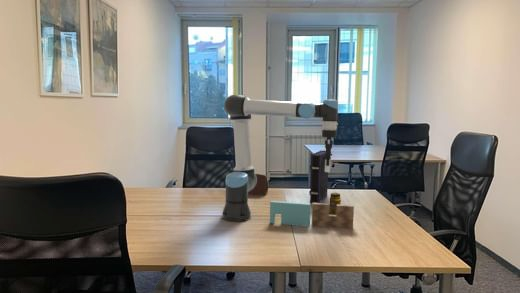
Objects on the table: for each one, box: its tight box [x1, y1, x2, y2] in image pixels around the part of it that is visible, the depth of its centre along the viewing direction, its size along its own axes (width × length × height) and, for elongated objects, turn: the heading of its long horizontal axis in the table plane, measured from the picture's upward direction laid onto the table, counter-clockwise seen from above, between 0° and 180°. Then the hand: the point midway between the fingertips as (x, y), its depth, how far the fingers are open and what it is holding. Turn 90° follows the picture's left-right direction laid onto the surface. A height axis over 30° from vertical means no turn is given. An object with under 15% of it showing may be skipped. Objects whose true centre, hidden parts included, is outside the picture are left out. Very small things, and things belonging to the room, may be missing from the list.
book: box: [308, 149, 329, 203], centre depth 244 cm, size 24×6×30 cm, turn 157°
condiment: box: [328, 192, 342, 215], centre depth 209 cm, size 7×8×12 cm
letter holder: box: [248, 173, 269, 196], centre depth 259 cm, size 10×20×14 cm, turn 81°
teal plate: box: [269, 200, 311, 227], centre depth 192 cm, size 20×2×11 cm, turn 78°
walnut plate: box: [311, 202, 355, 229], centre depth 190 cm, size 20×2×11 cm, turn 78°
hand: (327, 169), depth 201 cm, fingers open, 13 cm apart
